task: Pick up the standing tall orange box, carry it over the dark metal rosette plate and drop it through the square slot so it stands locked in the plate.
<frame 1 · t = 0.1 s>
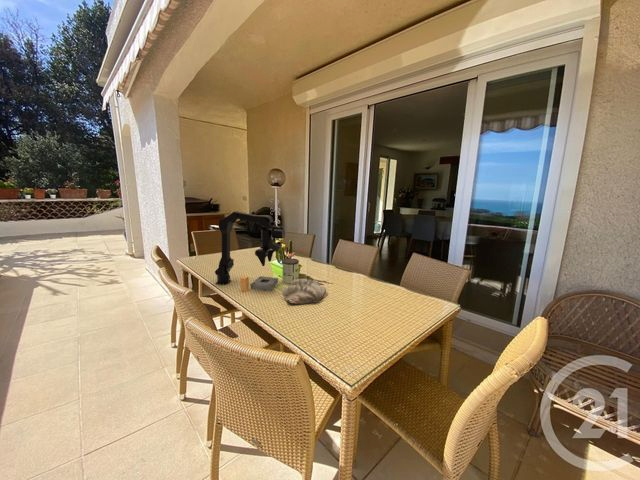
hand: (266, 263, 148), 15 cm above the table, fingers open, 9 cm apart
rosette plate: (264, 285, 154), on the table
coffee can: (290, 282, 161), on the table
tall orange box: (244, 290, 145), on the table
seashell: (306, 297, 141), on the table
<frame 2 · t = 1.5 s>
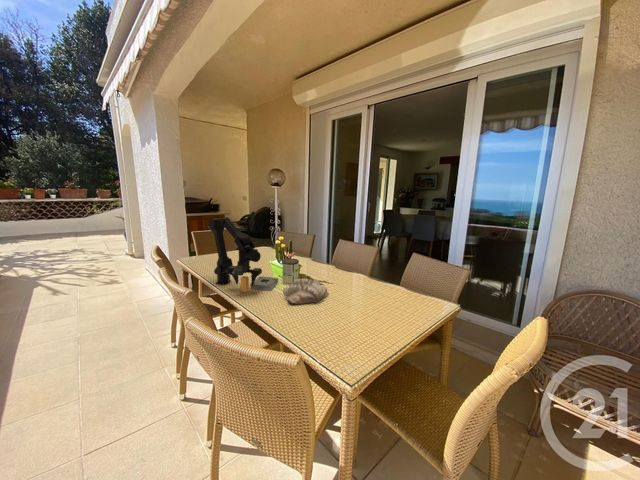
hand: (244, 285, 145), 3 cm above the table, fingers open, 9 cm apart
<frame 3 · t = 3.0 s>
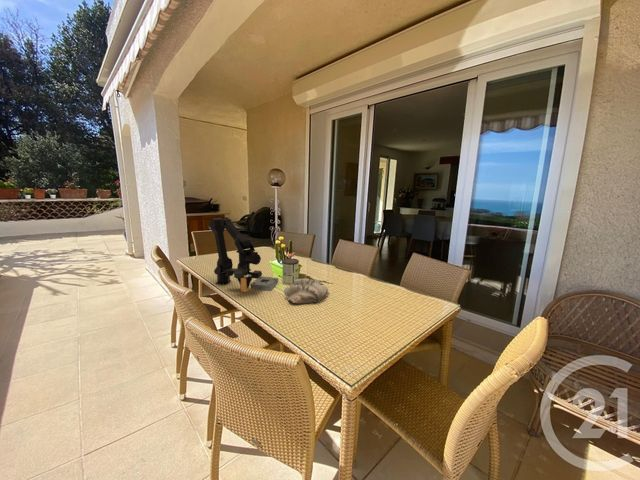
hand: (244, 287, 145), 2 cm above the table, fingers closed on tall orange box, 3 cm apart
tall orange box: (244, 290, 145), on the table, touching gripper
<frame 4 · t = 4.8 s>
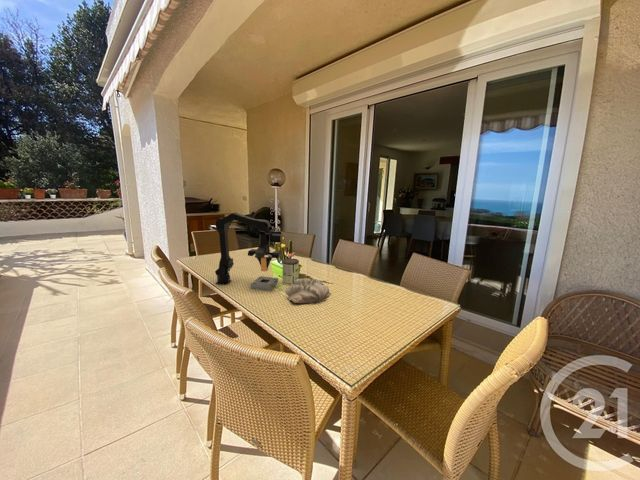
hand: (264, 267, 151), 11 cm above the table, fingers closed on tall orange box, 3 cm apart
tall orange box: (264, 270, 152), point 10 cm above the table, touching gripper
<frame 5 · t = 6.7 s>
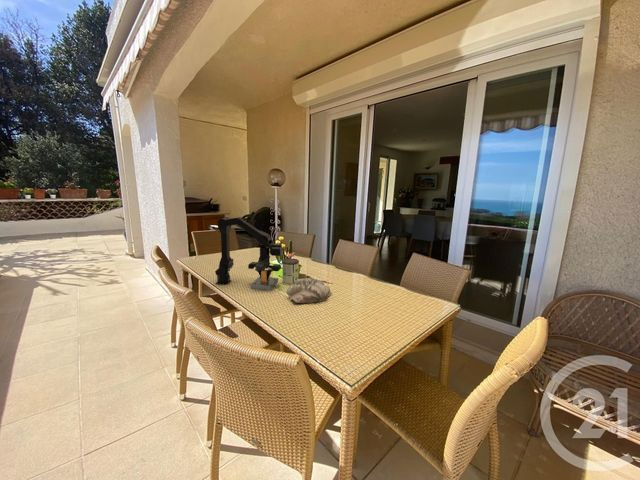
hand: (264, 280, 153), 3 cm above the table, fingers closed on tall orange box, 3 cm apart
tall orange box: (264, 283, 153), point 2 cm above the table, touching gripper
when the fingers open (3 cm above the table, at t = 6.8 s): tall orange box drops 2 cm, resting in rosette plate.
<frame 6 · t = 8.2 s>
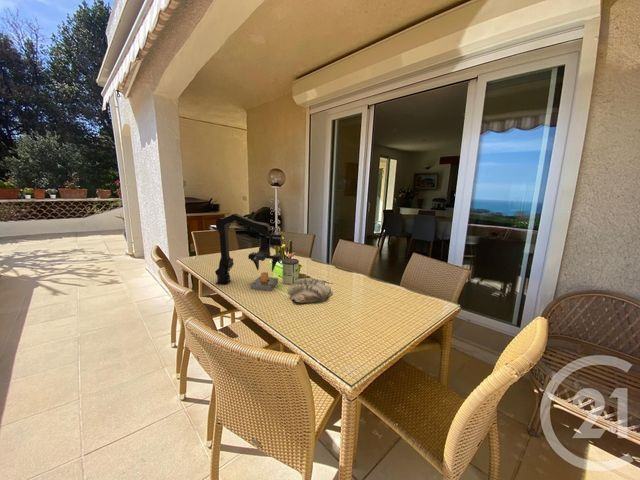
hand: (265, 270, 152), 9 cm above the table, fingers open, 9 cm apart
tall orange box: (264, 285, 154), resting in rosette plate
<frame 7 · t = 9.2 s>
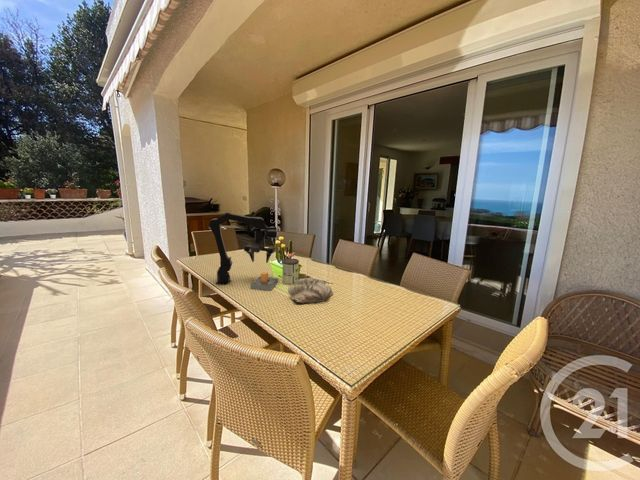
hand: (260, 262, 159), 12 cm above the table, fingers open, 9 cm apart
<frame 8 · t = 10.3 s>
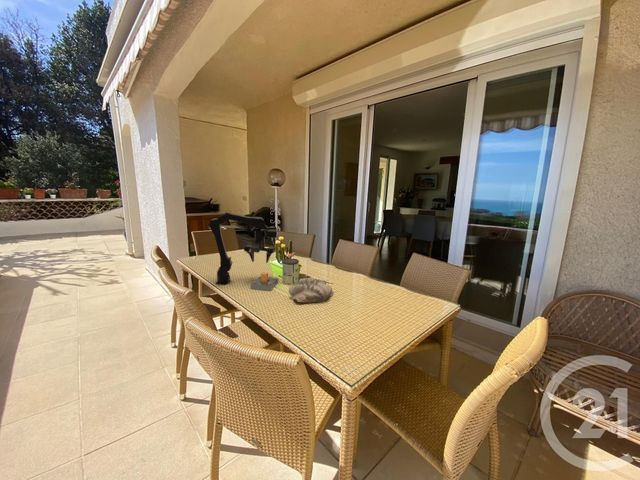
hand: (260, 262, 159), 12 cm above the table, fingers open, 9 cm apart
at the end: tall orange box 0.1 cm off-centre on the rosette plate, point 0.0 cm above the rosette plate's base; tall orange box tilted 0°; the gripper is holding nothing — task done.
